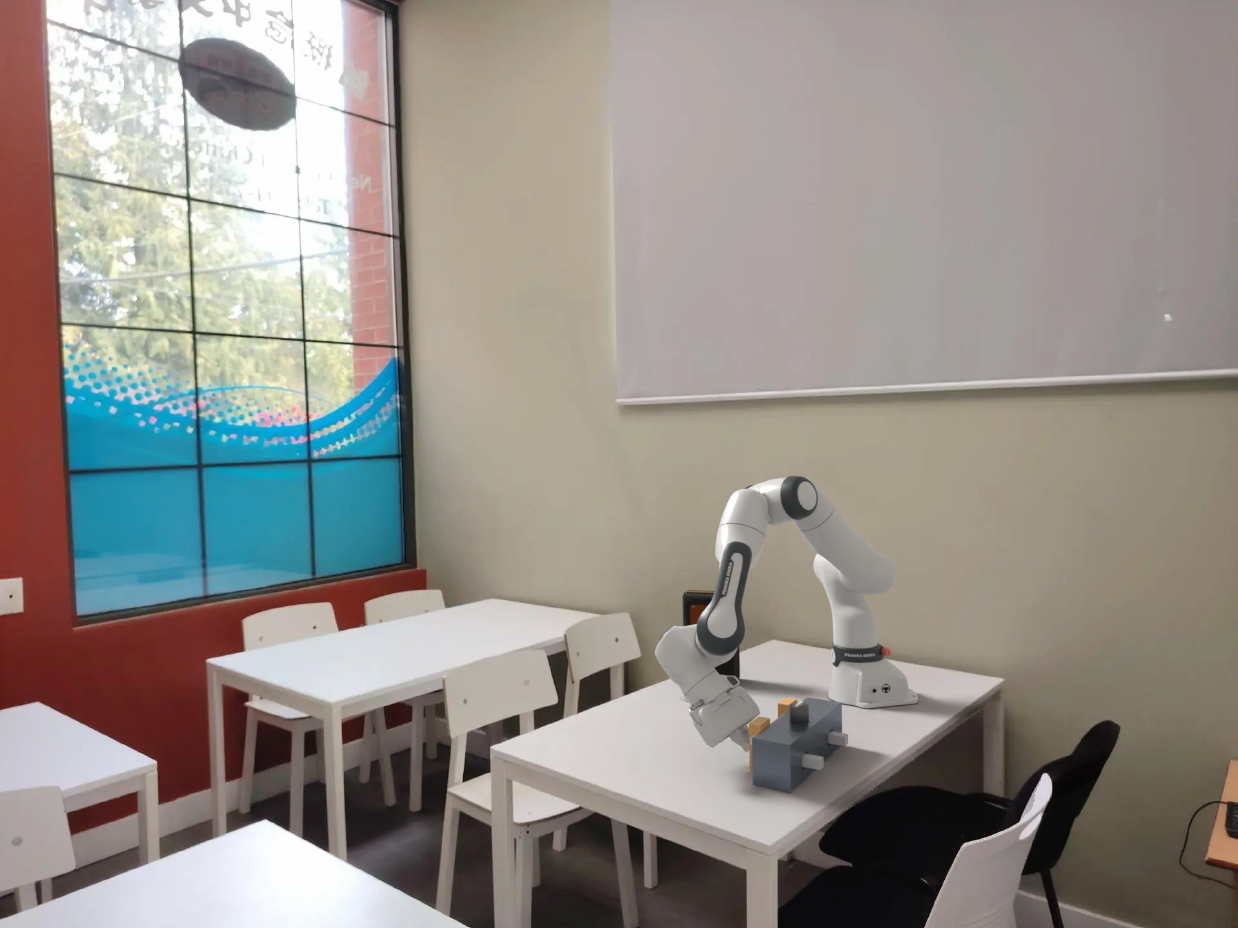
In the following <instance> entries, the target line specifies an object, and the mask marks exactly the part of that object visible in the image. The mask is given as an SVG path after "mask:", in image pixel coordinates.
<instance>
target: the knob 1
mask: <svg viewBox="0 0 1238 928" xmlns="http://www.w3.org/2000/svg"><path fill="white" fill-rule="evenodd" d="M769 724H771V718H770V717H765V716H757V717H756V718H755V719H754V720H752V721H751V722H750V723H748V727H749V751H748V753H749V772H751V773H753V768H752V745H751V744H750V738H751V737H753V736H754V735H756V734H757V733H758V732H760V731H761V730H762V729H764V728H765V727H766V726H768V725H769ZM824 762H825V761H824V758H823V757H821V756H816V755H811V754H805V753H804V754H803V755H802V767H807V768H812V769H816V770H817V771H821V770H822V769H824V766H825V765H824V764H825V763H824Z"/></svg>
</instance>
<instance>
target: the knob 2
mask: <svg viewBox="0 0 1238 928" xmlns="http://www.w3.org/2000/svg"><path fill="white" fill-rule="evenodd" d="M794 702H798V699H797V698H793V697H789V696H788V697H785V698H783V699H782V700H780V701H779V702H777V718H779V717H780V716H782V715H783V714H784V713H786V712H787V711H788V710H790V708H789V705H790V703H794ZM828 743H830V744H835V745H841V746H840V747H846V746H847V745H848V744H849V734H848V733H843V732H842V733H839V732H833V731H829V732H828Z"/></svg>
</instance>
